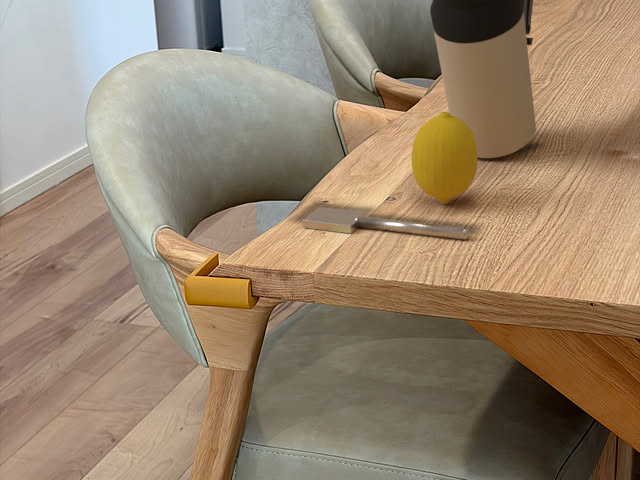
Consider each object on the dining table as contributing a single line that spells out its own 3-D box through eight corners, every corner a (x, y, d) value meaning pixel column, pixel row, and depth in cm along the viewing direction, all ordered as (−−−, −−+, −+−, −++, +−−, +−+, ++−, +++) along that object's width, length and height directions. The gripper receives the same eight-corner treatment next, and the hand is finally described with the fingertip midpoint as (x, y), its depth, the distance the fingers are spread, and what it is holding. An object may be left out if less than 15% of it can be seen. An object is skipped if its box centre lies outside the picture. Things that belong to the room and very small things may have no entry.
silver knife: (475, 232, 72) (475, 221, 72) (463, 247, 70) (463, 236, 69) (319, 214, 78) (319, 204, 78) (303, 227, 75) (302, 217, 75)
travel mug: (482, 172, 87) (454, 4, 74) (440, 134, 92) (407, -29, 79) (552, 134, 88) (537, -38, 75) (506, 99, 93) (484, -68, 80)
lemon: (425, 190, 82) (424, 101, 78) (485, 195, 79) (487, 105, 76) (402, 211, 77) (400, 118, 74) (465, 218, 75) (466, 123, 71)
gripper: (495, -147, 88) (489, 94, 99) (451, -140, 78) (450, 128, 89) (573, -152, 85) (557, 98, 96) (538, -144, 75) (525, 133, 86)
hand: (505, 112), depth 93 cm, fingers closed
